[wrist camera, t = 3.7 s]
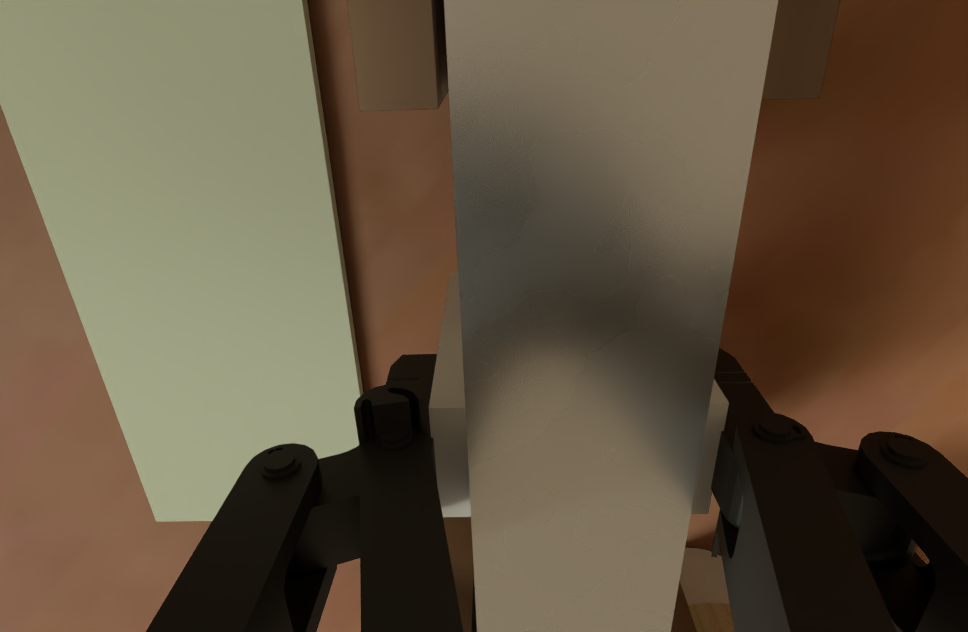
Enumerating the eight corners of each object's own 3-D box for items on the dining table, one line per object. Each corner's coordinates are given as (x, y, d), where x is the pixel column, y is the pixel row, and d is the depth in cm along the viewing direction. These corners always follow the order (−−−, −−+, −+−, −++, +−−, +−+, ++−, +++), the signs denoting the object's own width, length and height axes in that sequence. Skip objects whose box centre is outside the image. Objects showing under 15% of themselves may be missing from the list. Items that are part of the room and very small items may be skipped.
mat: (162, 512, 30) (156, 521, 29) (-99, -203, 17) (-118, -211, 17) (380, 509, 30) (378, 518, 29) (275, -219, 17) (268, -227, 17)
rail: (609, 684, 20) (636, 834, 16) (488, 685, 20) (487, 833, 16) (715, -312, 9) (869, -538, 5) (446, -301, 9) (418, -515, 5)
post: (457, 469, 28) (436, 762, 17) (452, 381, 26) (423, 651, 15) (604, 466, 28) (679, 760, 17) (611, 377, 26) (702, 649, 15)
